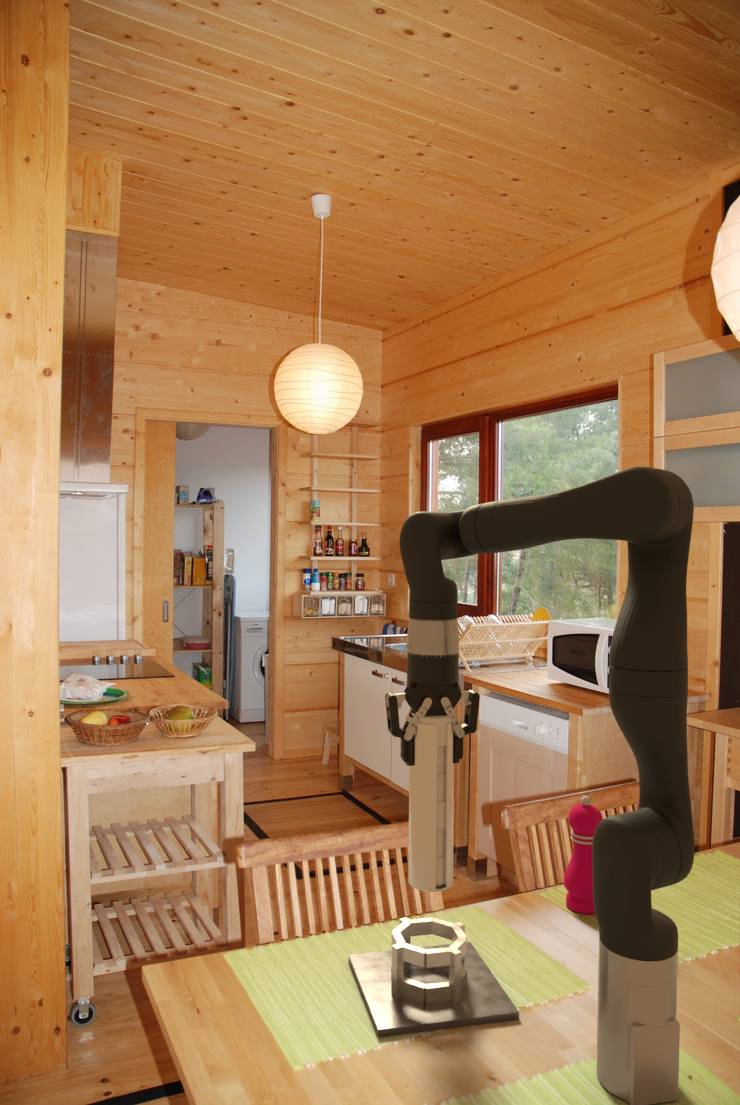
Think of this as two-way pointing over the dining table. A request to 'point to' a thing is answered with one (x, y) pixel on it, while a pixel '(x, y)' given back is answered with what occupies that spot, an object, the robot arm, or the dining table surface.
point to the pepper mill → (581, 857)
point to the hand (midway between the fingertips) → (432, 762)
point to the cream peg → (431, 804)
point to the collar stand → (429, 982)
